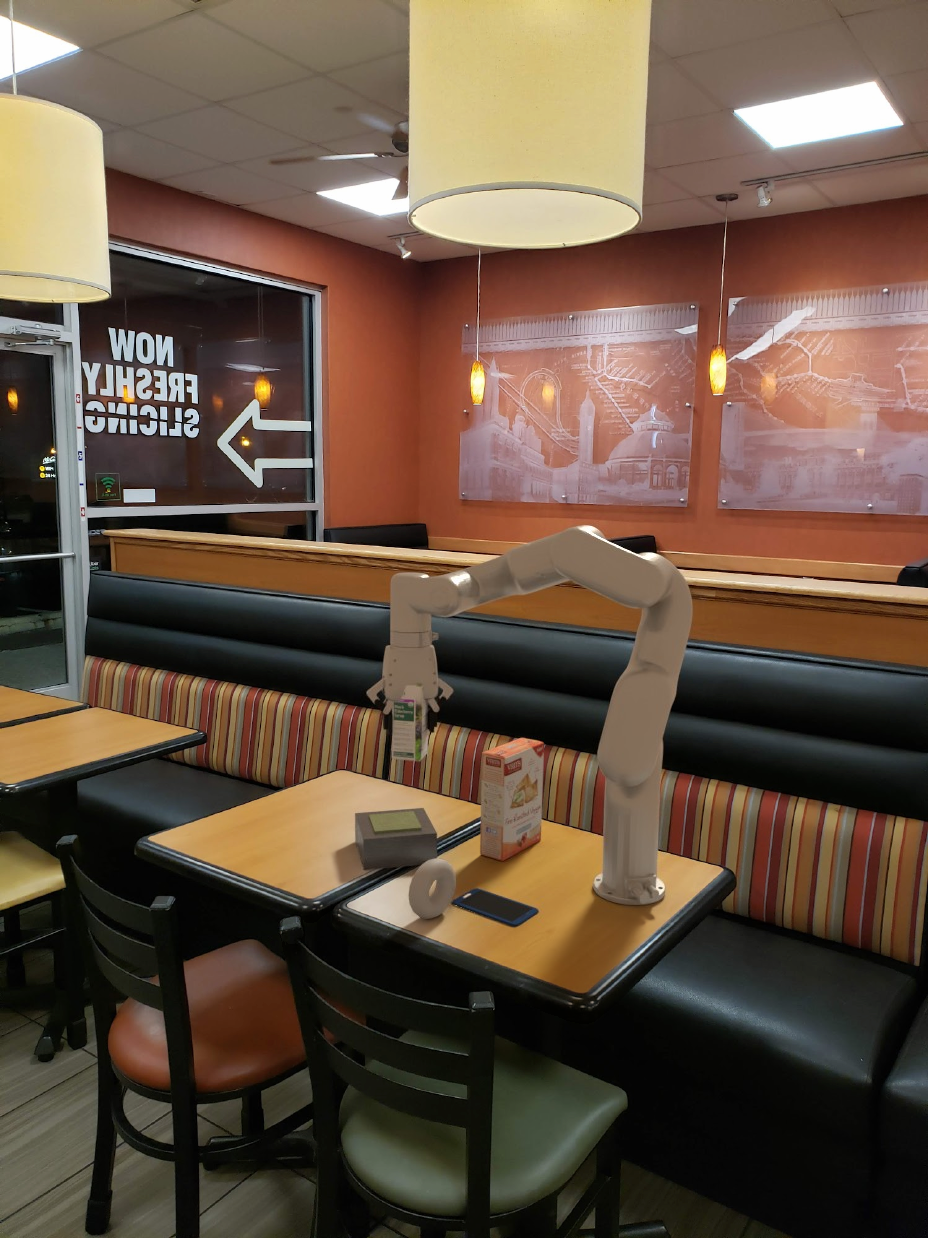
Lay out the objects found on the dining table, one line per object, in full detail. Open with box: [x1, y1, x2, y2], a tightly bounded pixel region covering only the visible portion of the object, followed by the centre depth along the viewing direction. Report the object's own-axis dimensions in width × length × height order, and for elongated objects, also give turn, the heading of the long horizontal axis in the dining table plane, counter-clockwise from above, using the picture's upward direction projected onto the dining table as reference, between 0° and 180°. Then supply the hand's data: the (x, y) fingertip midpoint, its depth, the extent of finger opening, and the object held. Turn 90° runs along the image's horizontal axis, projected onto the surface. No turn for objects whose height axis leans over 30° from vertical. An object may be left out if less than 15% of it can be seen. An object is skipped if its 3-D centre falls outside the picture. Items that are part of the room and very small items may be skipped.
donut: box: [408, 857, 457, 920], centre depth 150 cm, size 10×4×10 cm, turn 139°
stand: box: [354, 807, 438, 871], centre depth 177 cm, size 14×14×6 cm
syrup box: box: [391, 684, 429, 763], centre depth 170 cm, size 6×6×14 cm
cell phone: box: [450, 887, 539, 928], centre depth 155 cm, size 7×14×1 cm, turn 52°
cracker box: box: [479, 737, 545, 862], centre depth 178 cm, size 14×6×21 cm, turn 143°
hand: (410, 731), depth 171 cm, fingers closed on syrup box, 7 cm apart
